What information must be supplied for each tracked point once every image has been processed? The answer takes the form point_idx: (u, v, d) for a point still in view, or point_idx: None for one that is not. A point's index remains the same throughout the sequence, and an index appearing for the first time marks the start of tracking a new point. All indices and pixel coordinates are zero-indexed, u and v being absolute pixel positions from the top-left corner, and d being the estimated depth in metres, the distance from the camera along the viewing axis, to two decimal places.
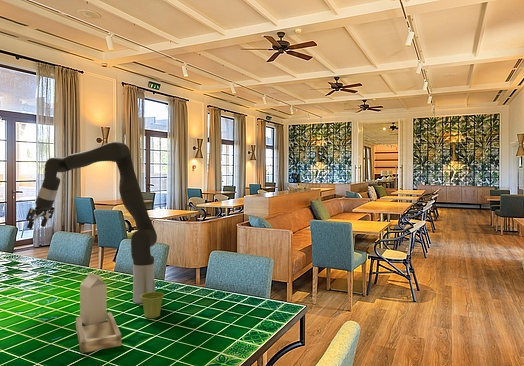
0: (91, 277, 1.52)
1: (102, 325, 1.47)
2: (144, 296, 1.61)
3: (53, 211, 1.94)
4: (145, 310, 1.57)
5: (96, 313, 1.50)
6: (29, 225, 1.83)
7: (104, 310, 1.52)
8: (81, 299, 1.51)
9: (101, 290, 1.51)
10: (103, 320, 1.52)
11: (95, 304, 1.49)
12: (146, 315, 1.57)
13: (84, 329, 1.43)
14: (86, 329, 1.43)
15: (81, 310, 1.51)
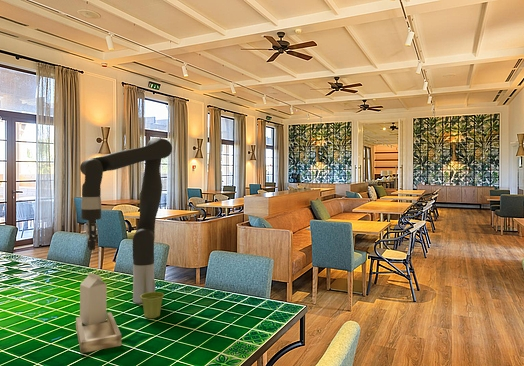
0: (91, 277, 1.52)
1: (102, 325, 1.47)
2: (144, 296, 1.61)
3: None
4: (145, 310, 1.57)
5: (96, 313, 1.50)
6: (93, 245, 1.56)
7: (104, 310, 1.52)
8: (81, 299, 1.51)
9: (101, 290, 1.51)
10: (103, 320, 1.52)
11: (95, 304, 1.49)
12: (146, 315, 1.57)
13: (84, 329, 1.43)
14: (86, 329, 1.43)
15: (81, 310, 1.51)
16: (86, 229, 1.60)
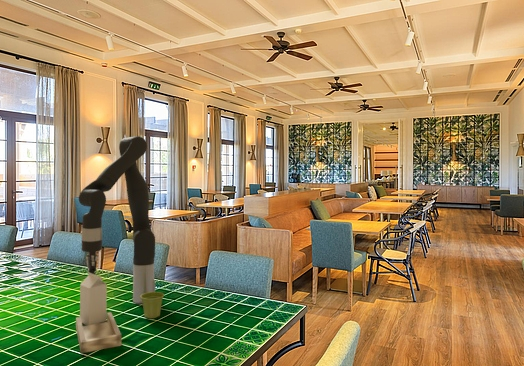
0: (91, 277, 1.52)
1: (102, 325, 1.47)
2: (144, 296, 1.61)
3: None
4: (145, 310, 1.57)
5: (96, 313, 1.50)
6: None
7: (104, 310, 1.52)
8: (81, 298, 1.51)
9: (101, 290, 1.51)
10: (103, 320, 1.52)
11: (95, 304, 1.49)
12: (146, 315, 1.57)
13: (84, 329, 1.43)
14: (86, 329, 1.43)
15: (81, 310, 1.51)
16: None
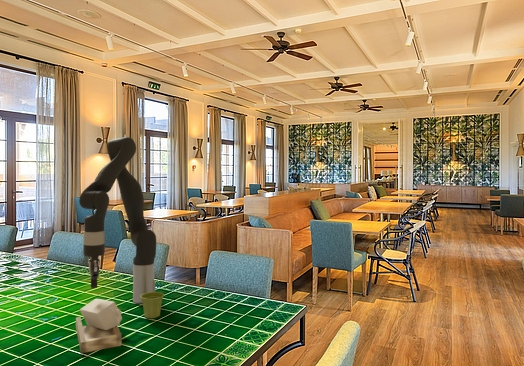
0: (112, 315, 1.38)
1: None
2: (144, 296, 1.61)
3: None
4: (145, 310, 1.57)
5: None
6: (95, 283, 1.48)
7: None
8: (91, 314, 1.41)
9: None
10: None
11: None
12: (146, 315, 1.57)
13: (84, 329, 1.43)
14: (86, 329, 1.43)
15: (86, 313, 1.44)
16: (89, 266, 1.49)
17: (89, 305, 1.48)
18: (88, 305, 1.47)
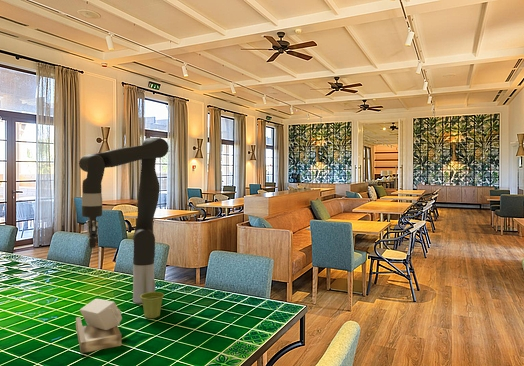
0: (112, 315, 1.38)
1: None
2: (144, 296, 1.61)
3: None
4: (145, 310, 1.57)
5: None
6: (93, 243, 1.55)
7: None
8: (91, 314, 1.41)
9: None
10: None
11: None
12: (146, 315, 1.57)
13: (84, 329, 1.43)
14: (86, 329, 1.43)
15: (86, 313, 1.44)
16: (87, 226, 1.55)
17: (89, 305, 1.48)
18: (88, 305, 1.47)
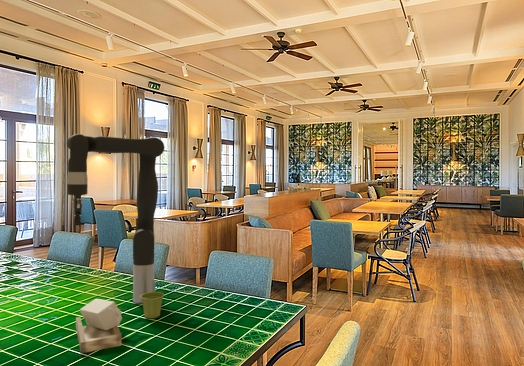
0: (112, 315, 1.38)
1: None
2: (144, 296, 1.61)
3: None
4: (145, 310, 1.57)
5: None
6: (78, 220, 1.58)
7: None
8: (91, 314, 1.41)
9: None
10: None
11: None
12: (146, 315, 1.57)
13: (84, 329, 1.43)
14: (86, 329, 1.43)
15: (86, 313, 1.44)
16: None
17: (89, 305, 1.48)
18: (88, 305, 1.47)
